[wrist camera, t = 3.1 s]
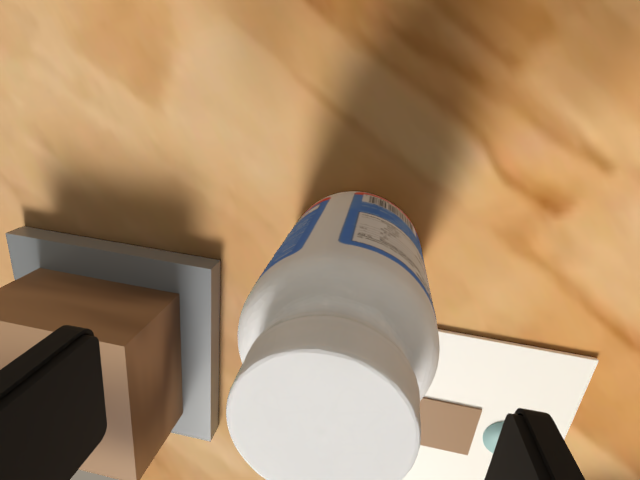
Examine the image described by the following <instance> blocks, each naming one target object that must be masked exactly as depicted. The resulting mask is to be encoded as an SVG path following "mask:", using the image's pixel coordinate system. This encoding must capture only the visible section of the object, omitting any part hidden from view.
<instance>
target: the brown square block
mask: <svg viewBox="0 0 640 480" xmlns="http://www.w3.org/2000/svg"><path fill="white" fill-rule="evenodd" d="M63 325H71V326H76V327H82V328H87V329H90V330H92V332H93V333H94V336H95V337H97V338H98V340H99V346H100V356H101V366H102V377H103V387H104V397H105V408H106V418H107V429H106V432H105V435H104V437H103V439H102V440H101V442H100V443H99V444H98V446H97V447H96V448H95V449H94V451H93V452H92V453H91V454H90V455H89V457H88V458H87V459H86V460H85V462H84V463H83V464H82V465H81V466H80V468H79V470H83V471H87V472H91V473H95V474H99V475H103V476H107V477H111V478H115V479H119V480H140V479H141V477H142V475H143V474H144V472H145V471H146V469H147V468H148V466H149V465H150V463H151V462H152V460H153V459H154V457H155V455H156V454H157V452H158V451H159V449H160V448H161V446H162V445H163V443H164V442H165V440H166V439H167V437H168V436H169V434H170V432H171V431H172V429H173V428H174V426H175V425H176V423H177V422H178V420H179V419H180V417H181V416H182V414H183V400H182V366H181V331H180V297H179V294H178V293H172V292H167V291H162V290H156V289H151V288H146V287H140V286H135V285H129V284H124V283H119V282H113V281H108V280H103V279H97V278H92V277H86V276H81V275H76V274H70V273H65V272H60V271H54V270H49V269H43V268H38V269H36V270H34V271H32V272H30V273H29V274H27V275H25V276H23V277H21V278H19V279H17V280H15V281H13V282H11V283H9V284H7V285H5V286H3V287H1V288H0V370H1V369H2V368H3V367H5V366H6V365H8V364H9V363H10V362H12V361H13V360H15V359H16V358H17V357H19V356H20V355H22V354H23V353H24V352H26V351H27V350H29V349H30V348H31V347H33V346H34V345H36V344H37V343H38V342H40V341H41V340H43V339H44V338H45V337H47V336H48V335H50V334H51V333H52V332H54V331H55V330H57V329H58V328H59V327H61V326H63Z"/></svg>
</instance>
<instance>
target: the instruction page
mask: <svg viewBox="0 0 640 480" xmlns="http://www.w3.org/2000/svg"><path fill="white" fill-rule="evenodd" d="M438 334H439V345H440V351H439V361H438V366H437V370H436V374H435V377H434V379H433V381H432V384H431V386H430V387H429V389H428V391H427V393H426V394H425V396H424V397H423V398H422V399H421V401H420V420H421V442H420V448H419V452H418V455H417V458H416V460H415V463H414V464H413V466H412V468H411V470H410V471H409V472H408V473H407V475H406V476H405V477H404V478H403V479H402V480H484V479H485V476H486V473H487V471H488V468H489V465H490V462H491V459H492V456H493V453H494V450H495V447H496V444H497V441H498V438H499V435H500V432H501V429H502V426H503V423H504V420H505V418H506V415H507V414H509V413H511V414H514V413H515V411H516V410H517V409H518V408H523V409H529V410H534V411H540V412H545V413H548V414H550V416H551V417H552V418H553V420H554V422H555V424H556V426H557V428H558V430H559V432H560V433H561V435H562V437H563V439H565V437H566V434H567V432H568V430H569V427H570V425H571V423H572V421H573V418H574V416H575V414H576V411H577V409H578V407H579V405H580V402H581V400H582V398H583V395H584V393H585V391H586V389H587V386H588V384H589V382H590V379H591V377H592V375H593V373H594V370H595V368H596V366H597V363H598V359H597V358H595V357H589V356H584V355H578V354H573V353H567V352H562V351H556V350H551V349H545V348H540V347H534V346H529V345H523V344H518V343H512V342H507V341H501V340H496V339H490V338H485V337H479V336H474V335H468V334H463V333H457V332H452V331H446V330H441V329H438Z"/></svg>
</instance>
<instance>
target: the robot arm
mask: <svg viewBox="0 0 640 480" xmlns="http://www.w3.org/2000/svg"><path fill="white" fill-rule="evenodd" d="M106 429H107V418H106V408H105V397H104V387H103V377H102V366H101V356H100V346H99V340H98V338H97V337H95V336H94V333H93V332H92V330H90V329H87V328H82V327H76V326H71V325H63V326H61V327H59V328H58V329H57V330H55V331H54V332H52V333H51V334H50V335H48V336H47V337H45V338H44V339H43V340H41V341H40V342H38V343H37V344H36V345H34V346H33V347H31V348H30V349H29V350H27V351H26V352H24V353H23V354H22V355H20V356H19V357H17V358H16V359H15V360H13V361H12V362H10V363H9V364H8V365H6V366H5V367H3V368H2V369H1V370H0V480H70V479H71V477H72V476H73V475H74V474H75V473H76V471H77V470H78V469H79V468H80V466H81V465H82V464H83V463H84V462H85V460H86V459H87V458H88V457H89V455H90V454H91V453H92V452H93V451H94V449H95V448H96V447H97V446H98V444H99V443H100V442H101V440H102V439H103V437H104V435H105V432H106ZM484 480H585V479H584V477H583V475H582V473H581V471H580V469H579V467H578V465H577V464H576V462H575V460H574V458H573V456H572V454H571V452H570V450H569V449H568V447H567V445H566V443H565V441H564V439H563V437H562V435H561V433H560V432H559V430H558V428H557V426H556V424H555V422H554V420H553V418H552V417H551V416H550V414H548V413H545V412H540V411H534V410H529V409H523V408H518V409H517V410H516V411H515V413H514V414H511V413H509V414H507V415H506V418H505V420H504V423H503V426H502V429H501V432H500V435H499V438H498V441H497V444H496V447H495V450H494V453H493V456H492V459H491V462H490V465H489V468H488V471H487V473H486V476H485V479H484Z"/></svg>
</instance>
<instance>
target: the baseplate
mask: <svg viewBox="0 0 640 480" xmlns="http://www.w3.org/2000/svg"><path fill="white" fill-rule="evenodd" d="M6 238H7V243H8V248H9V253H10V258H11V263H12V268H13V273H14V278H15V280H17V279H19V278H21V277H23V276H25V275H27V274H29V273H30V272H32V271H34V270H36V269H38V268H43V269H49V270H54V271H60V272H65V273H70V274H76V275H81V276H86V277H92V278H97V279H103V280H108V281H113V282H119V283H124V284H129V285H135V286H140V287H146V288H151V289H156V290H162V291H167V292H172V293H178V294H179V297H180V331H181V366H182V400H183V414H182V416H181V417H180V419H179V420H178V422H177V423H176V425H175V426H174V428H173V429H172V431H171V433H176V434H180V435H184V436H189V437H193V438H197V439H202V440H206V441H210V442H211V440H212V438H213V436H214V434H215V432H216V430H217V428H218V409H219V334H220V260H217V259H211V258H205V257H199V256H193V255H188V254H182V253H176V252H170V251H164V250H159V249H153V248H147V247H141V246H136V245H130V244H124V243H118V242H112V241H107V240H101V239H95V238H89V237H83V236H78V235H72V234H66V233H60V232H54V231H49V230H43V229H37V228H31V227H26V226H23V227H21V228H18V229H15V230H13V231H10V232H7V233H6Z"/></svg>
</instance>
